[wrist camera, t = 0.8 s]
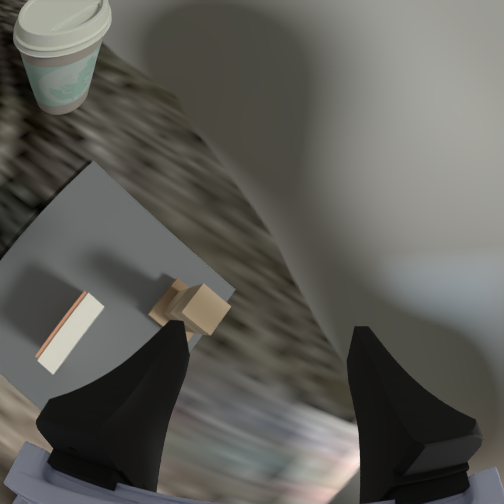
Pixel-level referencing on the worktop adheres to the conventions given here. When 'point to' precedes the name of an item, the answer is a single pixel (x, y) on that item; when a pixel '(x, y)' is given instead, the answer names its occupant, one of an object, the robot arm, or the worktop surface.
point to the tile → (69, 332)
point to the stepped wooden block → (190, 308)
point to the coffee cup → (61, 49)
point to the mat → (89, 283)
